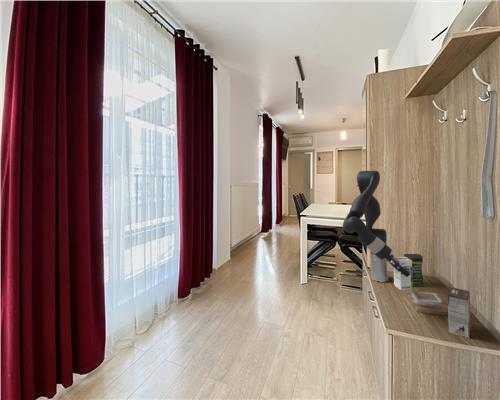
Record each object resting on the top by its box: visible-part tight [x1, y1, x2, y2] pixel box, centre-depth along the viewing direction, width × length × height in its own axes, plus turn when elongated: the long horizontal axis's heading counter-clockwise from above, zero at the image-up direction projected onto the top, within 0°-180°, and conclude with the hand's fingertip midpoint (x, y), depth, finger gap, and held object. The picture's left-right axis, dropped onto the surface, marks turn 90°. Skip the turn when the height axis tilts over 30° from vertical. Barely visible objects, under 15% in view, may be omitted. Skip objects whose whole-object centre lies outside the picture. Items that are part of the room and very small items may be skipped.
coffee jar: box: [403, 253, 424, 287], centre depth 142 cm, size 10×8×19 cm
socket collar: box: [411, 290, 442, 308], centre depth 118 cm, size 10×10×3 cm
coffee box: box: [447, 286, 471, 339], centre depth 97 cm, size 9×6×16 cm
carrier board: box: [405, 290, 448, 316], centre depth 119 cm, size 20×14×2 cm
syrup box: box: [393, 256, 414, 291], centre depth 114 cm, size 6×6×14 cm
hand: (406, 272), depth 113 cm, fingers closed on syrup box, 7 cm apart
